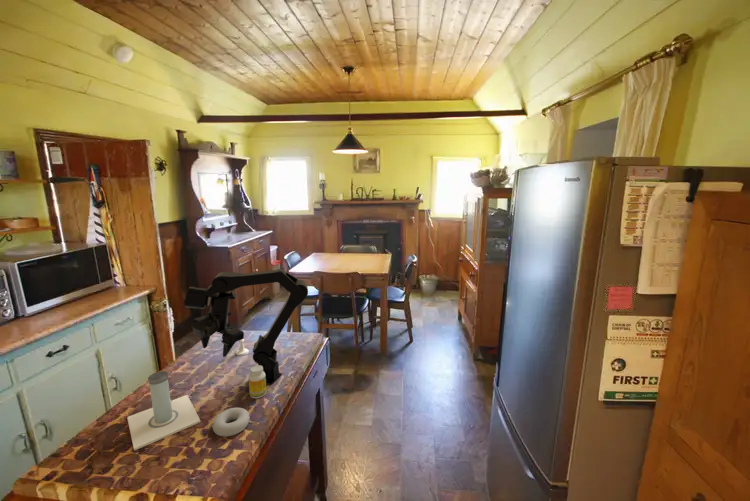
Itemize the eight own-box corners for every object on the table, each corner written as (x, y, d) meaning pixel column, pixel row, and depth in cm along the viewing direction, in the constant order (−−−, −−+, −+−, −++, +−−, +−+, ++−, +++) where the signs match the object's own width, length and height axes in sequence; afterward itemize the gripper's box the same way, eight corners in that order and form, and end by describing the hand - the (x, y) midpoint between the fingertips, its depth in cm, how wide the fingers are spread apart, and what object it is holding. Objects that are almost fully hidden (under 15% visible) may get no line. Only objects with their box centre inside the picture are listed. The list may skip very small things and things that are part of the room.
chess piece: (244, 356, 133) (242, 333, 131) (233, 355, 134) (231, 332, 132) (251, 350, 138) (249, 328, 136) (240, 349, 139) (239, 327, 137)
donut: (253, 414, 100) (220, 415, 99) (253, 404, 99) (219, 405, 98) (244, 438, 90) (207, 440, 89) (243, 427, 90) (206, 429, 89)
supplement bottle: (249, 390, 111) (248, 365, 109) (266, 387, 113) (264, 362, 111) (249, 400, 106) (247, 374, 104) (266, 397, 108) (265, 370, 106)
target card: (187, 396, 107) (187, 394, 107) (200, 422, 96) (200, 420, 96) (127, 418, 97) (127, 416, 97) (134, 450, 85) (133, 448, 85)
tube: (175, 411, 99) (170, 370, 96) (169, 422, 95) (164, 379, 92) (157, 414, 98) (152, 372, 95) (151, 425, 93) (145, 381, 91)
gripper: (178, 307, 105) (173, 351, 107) (220, 324, 99) (215, 371, 101) (207, 299, 115) (202, 340, 118) (247, 315, 109) (242, 357, 111)
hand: (214, 352), depth 112 cm, fingers open, 9 cm apart
